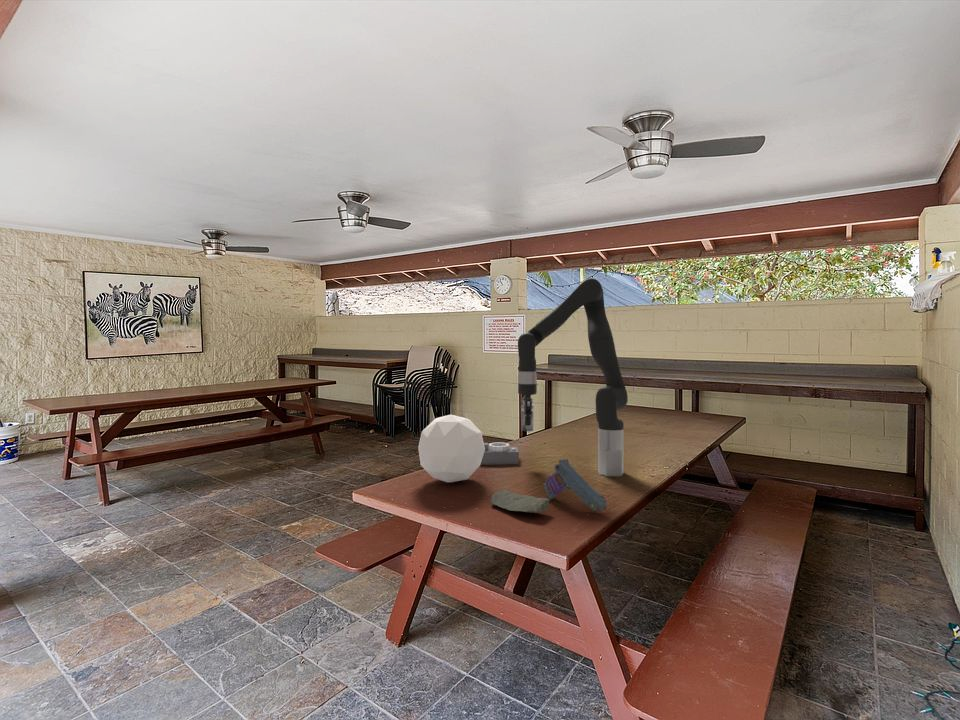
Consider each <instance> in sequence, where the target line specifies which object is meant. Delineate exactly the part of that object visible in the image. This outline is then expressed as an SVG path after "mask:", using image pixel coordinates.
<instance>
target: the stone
mask: <svg viewBox="0 0 960 720" xmlns="http://www.w3.org/2000/svg"><path fill="white" fill-rule="evenodd" d="M490 503H491V504H493V505H494V506H497V507H499V508H502V509H503V510H507V511H513V512H523V513H524V512H525V513H534V514H540V513H542V512H547V510H548V507H549V505H550V504H549V503H550V498H546V497H535V496H532V495H531V496H530V495H526V494H520V493H515V492H511V491H509V490H504V489H502V490H501V489H499V490H498V491H495V492H494V493H493V494H492V495H491V500H490Z"/></svg>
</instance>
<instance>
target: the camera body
mask: <svg viewBox="0 0 960 720" xmlns="http://www.w3.org/2000/svg"><path fill="white" fill-rule="evenodd" d="M484 446H485V451H484V455H483V458H482V461H481V464H480V466H481V465H484V466H486V465H487V466H488V465H519V464H520V451H519V448H518V447H519V446H510V443H509V442H508V443H507V442H501V441H500V442H499V441H497V442H491V443H489V442H484Z"/></svg>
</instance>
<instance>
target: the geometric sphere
mask: <svg viewBox="0 0 960 720" xmlns="http://www.w3.org/2000/svg"><path fill="white" fill-rule="evenodd" d="M484 443H485V442H484V438H483V433H482V430H480V429H479V428H478V427H477V426H476V425H475V424H474V422H472V421H471V419H469V418H466V417H462V416H458V415H454V414H447V415H443V416H439V417H436V418H434V419H433V420H432V421H431V422H430V423H429V424H428V425H426V427H425V428H424V429H423V430H422V431H421V433H420V438H419V442H418V447H417V448H418V449H417V450H418V455H419V462H420V467H421V468H423V469H424V470H425V471H426V472H427V473H428V474H429V475H430V476H431V477H432V478H433V479H435V480H439V481H441V482H444V483H455V482H459V481H466V480H468V479H469V478H470V477H471V476H472V475H473V474H474V473H475V472H476V470H477V469H478V468H479V467H480V466H481V465H480V464H481V461H482V458H483V455H484V451H485V446H484Z"/></svg>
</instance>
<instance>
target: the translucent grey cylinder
mask: <svg viewBox="0 0 960 720" xmlns="http://www.w3.org/2000/svg"><path fill="white" fill-rule="evenodd" d="M520 410H521V411H520V412H521V415H520V416H521V423H520V424H521V431H522V432H534V405H533V404H532V414H531V425H530V426H526V425H525V411H524V410H523V404H522V405H521V407H520ZM527 412H530V411H529V410H527Z"/></svg>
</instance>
